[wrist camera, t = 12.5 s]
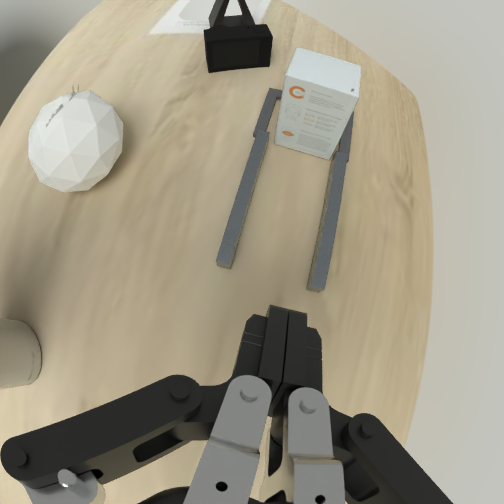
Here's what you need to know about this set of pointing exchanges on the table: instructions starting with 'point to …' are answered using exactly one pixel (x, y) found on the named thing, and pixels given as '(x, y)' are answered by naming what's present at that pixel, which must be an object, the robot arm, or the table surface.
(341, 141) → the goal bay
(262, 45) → the digital camera
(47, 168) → the geodesic sphere
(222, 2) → the phone stand
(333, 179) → the grey u-shaped frame
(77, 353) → the table surface
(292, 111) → the small box
